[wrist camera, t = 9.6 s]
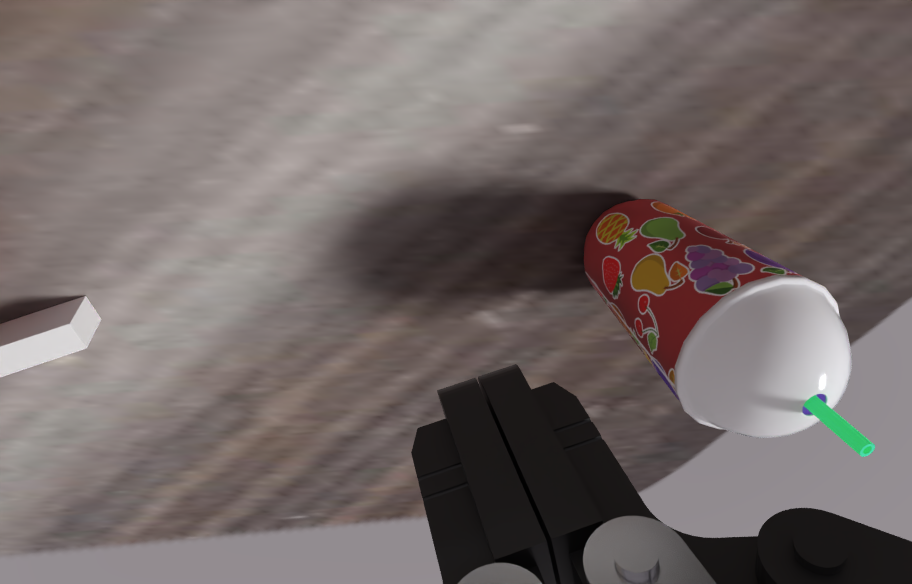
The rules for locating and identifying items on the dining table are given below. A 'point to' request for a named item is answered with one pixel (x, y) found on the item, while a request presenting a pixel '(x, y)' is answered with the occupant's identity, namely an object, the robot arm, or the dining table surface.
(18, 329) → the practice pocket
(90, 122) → the dining table surface
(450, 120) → the dining table surface
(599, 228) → the smoothie
